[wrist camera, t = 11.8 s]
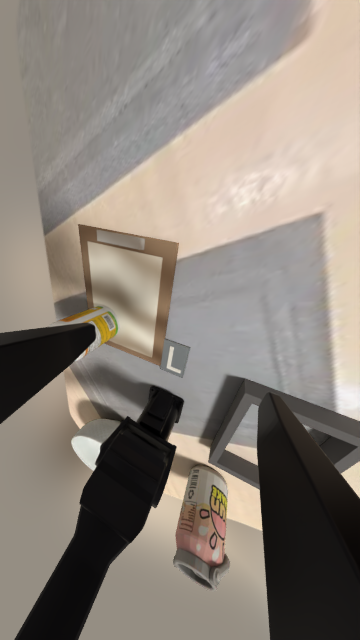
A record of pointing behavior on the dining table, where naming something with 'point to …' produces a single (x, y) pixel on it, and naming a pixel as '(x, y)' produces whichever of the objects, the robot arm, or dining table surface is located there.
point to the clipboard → (130, 286)
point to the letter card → (174, 357)
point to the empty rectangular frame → (346, 434)
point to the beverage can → (203, 528)
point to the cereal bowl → (92, 439)
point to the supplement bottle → (102, 321)
